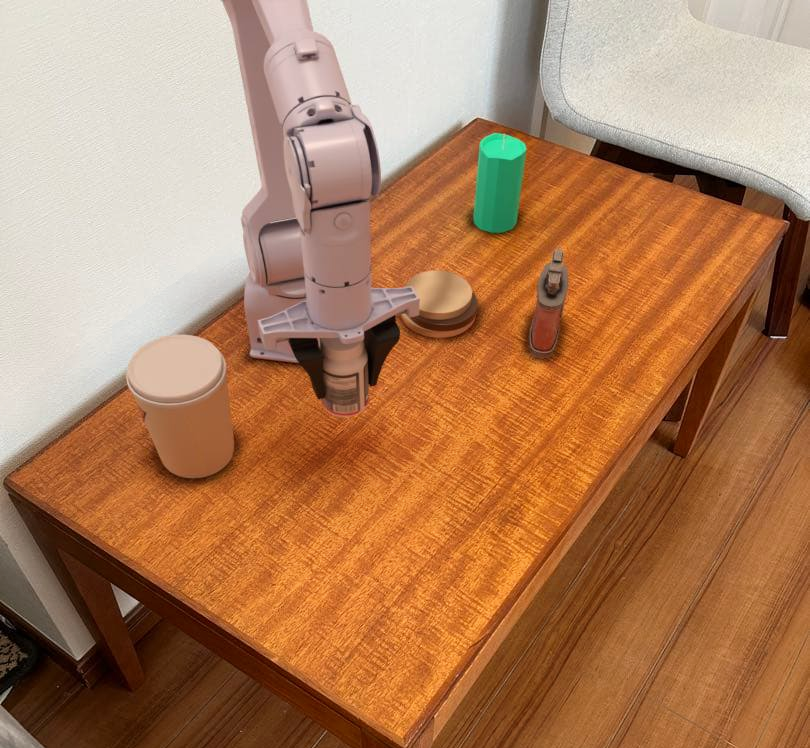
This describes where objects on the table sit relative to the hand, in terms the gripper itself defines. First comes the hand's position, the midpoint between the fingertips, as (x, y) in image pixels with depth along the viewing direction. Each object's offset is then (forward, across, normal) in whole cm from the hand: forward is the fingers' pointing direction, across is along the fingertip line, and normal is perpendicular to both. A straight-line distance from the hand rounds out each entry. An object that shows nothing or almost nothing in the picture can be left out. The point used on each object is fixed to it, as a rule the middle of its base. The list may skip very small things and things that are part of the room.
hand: (344, 385), depth 83 cm
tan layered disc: (+9, +18, +18) cm, 27 cm away
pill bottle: (+2, 0, 0) cm, 2 cm away
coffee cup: (+9, -15, +5) cm, 18 cm away
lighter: (+9, +28, +10) cm, 31 cm away
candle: (+10, +32, +34) cm, 47 cm away
